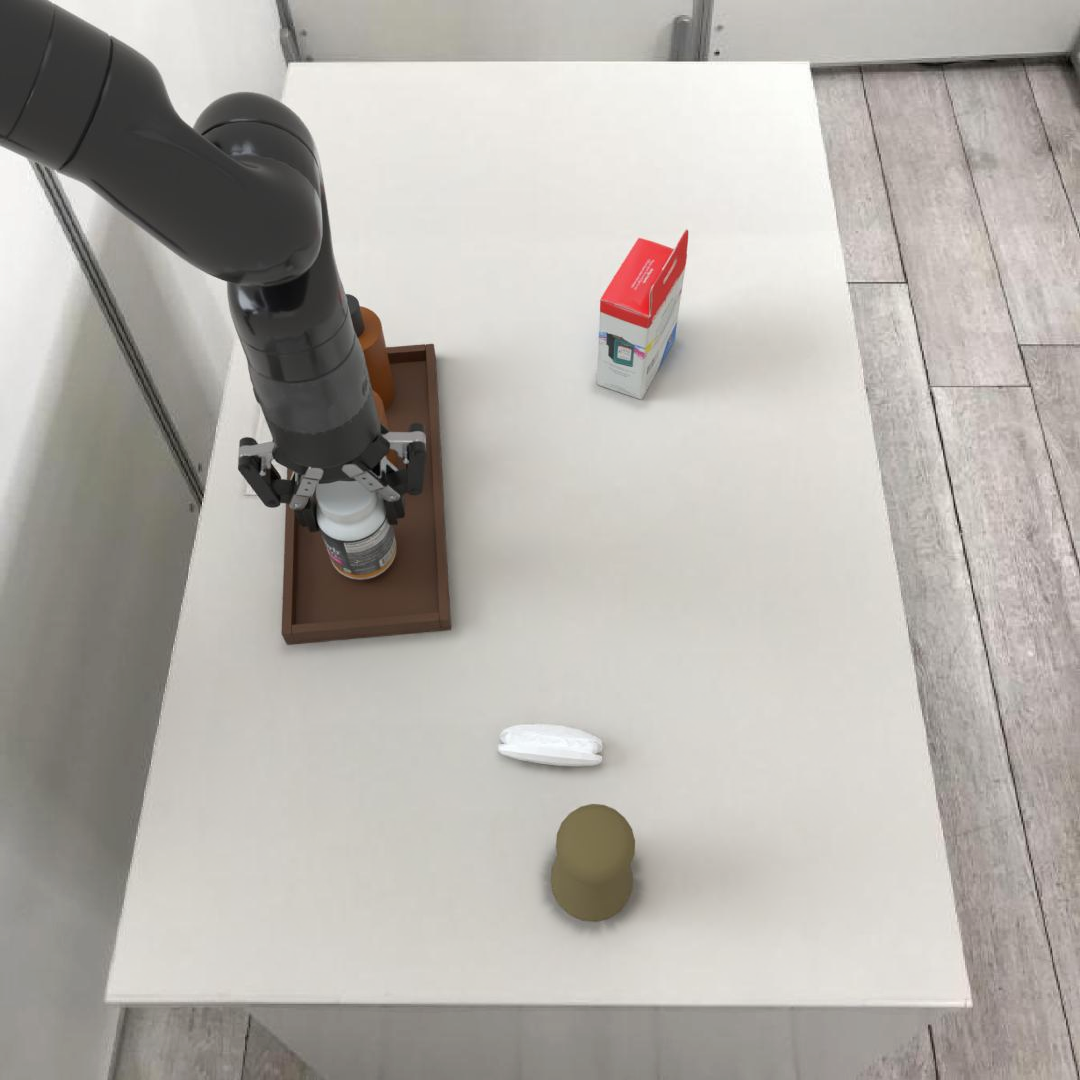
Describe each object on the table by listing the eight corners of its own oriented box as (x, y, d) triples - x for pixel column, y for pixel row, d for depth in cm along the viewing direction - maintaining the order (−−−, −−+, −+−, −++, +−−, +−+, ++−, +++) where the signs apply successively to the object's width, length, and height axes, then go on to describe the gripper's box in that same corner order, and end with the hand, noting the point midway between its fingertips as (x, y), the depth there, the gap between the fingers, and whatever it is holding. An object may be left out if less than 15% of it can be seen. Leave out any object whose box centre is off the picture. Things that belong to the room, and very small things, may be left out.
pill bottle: (321, 541, 91) (297, 475, 83) (382, 515, 93) (365, 447, 84) (346, 593, 89) (323, 530, 80) (409, 565, 90) (393, 501, 82)
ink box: (630, 324, 105) (640, 208, 93) (676, 341, 104) (693, 225, 92) (594, 385, 101) (599, 273, 89) (641, 403, 100) (654, 292, 88)
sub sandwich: (600, 775, 82) (601, 763, 79) (497, 764, 82) (495, 751, 80) (604, 737, 83) (605, 724, 81) (502, 726, 84) (501, 713, 82)
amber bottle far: (335, 420, 99) (309, 332, 89) (335, 373, 102) (310, 283, 92) (395, 415, 99) (377, 326, 89) (394, 368, 102) (376, 278, 92)
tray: (286, 644, 88) (281, 634, 86) (295, 368, 103) (291, 354, 101) (451, 629, 88) (449, 619, 87) (435, 357, 104) (433, 343, 102)
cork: (628, 834, 79) (638, 788, 70) (637, 918, 76) (648, 882, 67) (547, 840, 79) (546, 794, 70) (553, 924, 76) (552, 888, 67)
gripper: (418, 335, 74) (441, 473, 88) (209, 351, 73) (266, 488, 88) (422, 421, 70) (445, 551, 84) (201, 439, 69) (262, 567, 84)
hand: (354, 518), depth 86 cm, fingers closed on pill bottle, 5 cm apart
